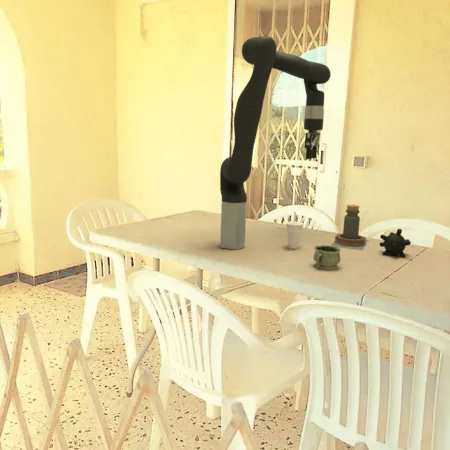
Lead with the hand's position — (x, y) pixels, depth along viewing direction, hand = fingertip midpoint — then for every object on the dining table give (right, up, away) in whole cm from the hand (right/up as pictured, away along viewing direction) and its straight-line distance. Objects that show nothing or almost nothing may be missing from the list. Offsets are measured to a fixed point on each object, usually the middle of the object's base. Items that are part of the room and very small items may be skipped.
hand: (311, 158), depth 192 cm
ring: (+14, -34, -5) cm, 37 cm away
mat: (+14, -34, -5) cm, 38 cm away
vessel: (-2, -41, -36) cm, 54 cm away
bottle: (+14, -34, -5) cm, 37 cm away
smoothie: (-9, -36, -14) cm, 40 cm away
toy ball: (+26, -38, -21) cm, 51 cm away
